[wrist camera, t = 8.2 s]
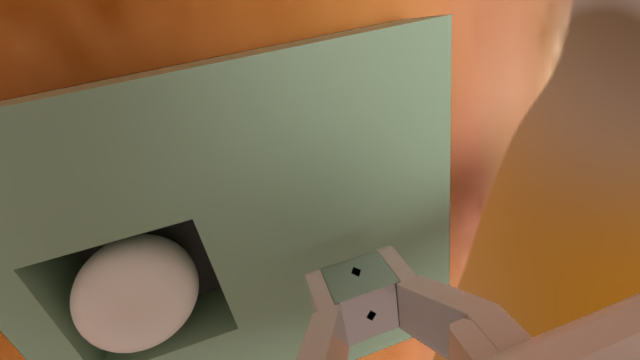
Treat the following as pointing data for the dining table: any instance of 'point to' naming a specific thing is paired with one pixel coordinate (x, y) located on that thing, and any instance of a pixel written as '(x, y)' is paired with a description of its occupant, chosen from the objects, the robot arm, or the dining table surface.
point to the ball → (134, 293)
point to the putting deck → (231, 184)
